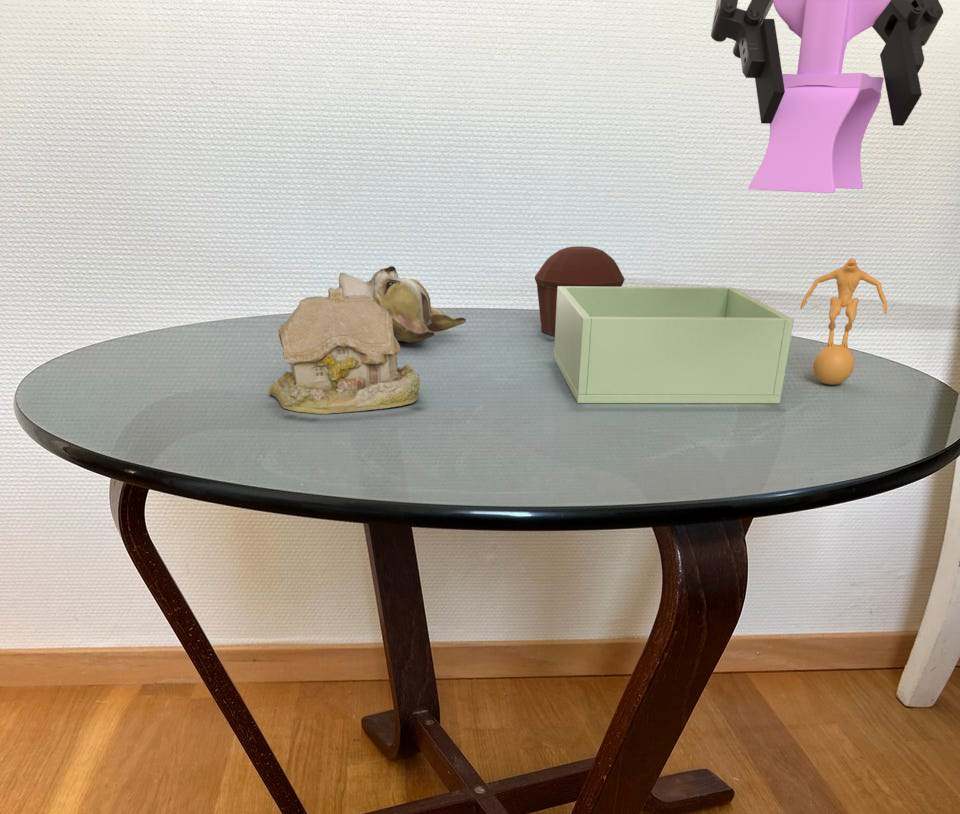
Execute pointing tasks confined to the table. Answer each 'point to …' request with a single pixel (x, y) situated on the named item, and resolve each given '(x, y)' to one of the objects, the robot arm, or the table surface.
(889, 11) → the robot arm
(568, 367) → the bin
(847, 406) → the table surface
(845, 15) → the toy chair
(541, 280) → the muffin
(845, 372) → the figurine
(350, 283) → the ceramic sculpture
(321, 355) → the ceramic model
